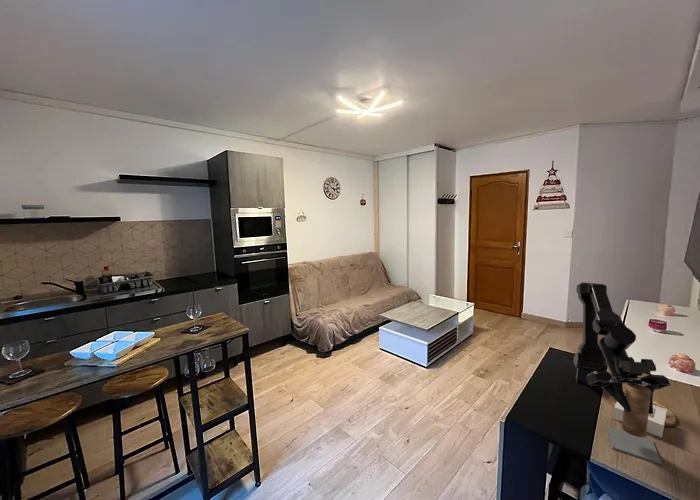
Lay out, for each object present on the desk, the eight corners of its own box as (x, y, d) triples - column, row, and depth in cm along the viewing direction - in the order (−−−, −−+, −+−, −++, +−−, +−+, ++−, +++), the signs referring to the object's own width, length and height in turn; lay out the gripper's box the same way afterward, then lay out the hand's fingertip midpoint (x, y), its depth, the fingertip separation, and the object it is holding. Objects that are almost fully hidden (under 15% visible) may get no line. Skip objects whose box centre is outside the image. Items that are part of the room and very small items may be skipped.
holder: (612, 418, 97) (614, 407, 96) (619, 404, 104) (620, 393, 103) (661, 437, 88) (663, 425, 88) (665, 421, 95) (667, 409, 95)
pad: (612, 448, 85) (612, 446, 84) (606, 427, 93) (607, 425, 93) (661, 464, 79) (662, 463, 79) (651, 440, 87) (651, 439, 87)
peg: (623, 432, 85) (628, 389, 83) (620, 422, 89) (624, 381, 87) (647, 439, 82) (653, 395, 80) (643, 428, 86) (648, 386, 84)
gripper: (595, 345, 88) (619, 403, 78) (669, 349, 85) (702, 410, 75) (577, 357, 97) (596, 411, 87) (643, 361, 94) (670, 418, 84)
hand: (640, 412), depth 83 cm, fingers closed on peg, 5 cm apart
